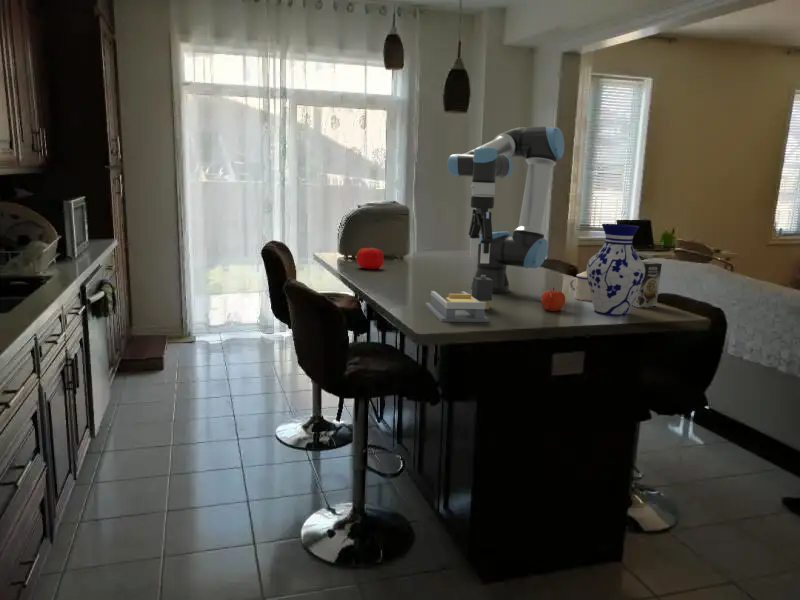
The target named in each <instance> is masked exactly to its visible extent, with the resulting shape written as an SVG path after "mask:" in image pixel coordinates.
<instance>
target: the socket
mask: <svg viewBox="0 0 800 600" xmlns="http://www.w3.org/2000/svg"><path fill="white" fill-rule="evenodd" d="M460 294H469V293H468V292H466V291H461V293H460ZM471 298H474V297H472V295H471ZM474 299H475V298H474ZM475 300H476V301H478V300H477V299H475ZM424 306H425V307H426V308H427V310H429V311H430V312H431V313H432V314H433V315H434V316H435V317H436V319H438V320H439V321H440V322H442V323H443V322H444V323H446V322H447V323H448V322H450V323H451V322H453V323H490V318H489V317H487V316H486V315H485V314H486V313H485V311H486V309H485V306H486V303H485V302H480V301H478V302H447V301H446V298H444V297H442V296H441V295H440V294H439V293H438V292H436V291H435V290H431V291H430V298H429V302H425V303H424Z"/></svg>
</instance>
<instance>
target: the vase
mask: <svg viewBox="0 0 800 600" xmlns="http://www.w3.org/2000/svg"><path fill="white" fill-rule="evenodd" d="M601 226H602V228H603V231H604V237H605V240H604V244H603V245H602V247H601V248H600V249H599V250H598V251H596V253H595V254H594V255H592V256H591V257H590V258H589V260H588V262H587V265H586V269H587V278H588V284H589V289H590V293H591V298H592V301H591V303H592V307H593V310H594V313H597V314H599V315H605V316H612V317H625V315H626V316H628V314H629V312H630V310H631V307H633V306H632V304H633V301H634V299H635V297H636V295H637V293H638V291H639V289H640V286H641V284H642V282H643V279H644V276H645V266H644V263H643V262H644V261H643V260H642V259H641V258H640V257H639V255H638V254H637V252H636V251H635V249H634V246H633V238H634V236H635V234H636V233H637V232H638V230H639V228H640V226H638V225H632V224H623V223H622V224H621V223H620V224H619V223H601Z"/></svg>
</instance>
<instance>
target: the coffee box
mask: <svg viewBox="0 0 800 600" xmlns="http://www.w3.org/2000/svg"><path fill="white" fill-rule="evenodd" d="M642 262H643V263H644V266H645V276H644V279H643V282H642V284H641V286H640V289H639V291H638V293H637V295H636V297H635V299H634V301H633V304H632V305H633V306H632V307H634V306H636V307H635V308H637V307H645V308H650V307H649V306H656V307H657V304H658V296H659V288H660V280H661V273H662V266H663V264H662V263H660V262H652V261H651V262H650V261H642Z"/></svg>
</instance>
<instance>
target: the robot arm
mask: <svg viewBox="0 0 800 600" xmlns="http://www.w3.org/2000/svg"><path fill="white" fill-rule="evenodd" d="M564 153H565V139H564V133H563V132H562V130H561V128H560V127H558V126H557V127H556V126H549V125H548V126H520V127H515V128H513V129H509V130H507V131H504V132H502V133H500V134H497V135H496V136H495V137H494V138H493V140H491V141H489V142H486V143H485V144H482V145H480V146H478V147H475V148H474V149H472V150H469V151H467V152H464V153H454V154H451V155H450V156H449V157H448V159H447V163H446V166H447V172H448V173H449V175H451V176H453V177H455V176H456V177H458V178H459V177H470V178H471V177H472V179H471V185H470V187H469V188H470V189H471V195H472V196H471V197H470V208H472V216H471V221H470V226H469V232H468V235H469V237H470V239H469V240H470V241H469V243H470V244H469V256H468V257H469V258H477V259H476V262H477V263H476V271H475V273H474V276H473V277H481V275H486V278H490V279H492V280H493V289H492V294H493V293H494V294H495V293H496V294H497V293H499V294H503V293H509V292H510V281H509V277H508V274H507V266H509V267H517V268H524V269H538V268H539V267H541V266H542V264H544V261H546V260H545V259H546V257H547V254H548V250H549V246H548V245H549V242H548V241H547V239H546V238H545V234H544V232H543V231H542V226H543V220H544V213H545V207H546V203H547V196H548V190H549V183H550V180H551V179H550V178H551V172H552V168H553V167H555V166H556V165H557V161H558V160H560V159H562V158H563V156H564ZM512 158H525V162H526V164H527V165H528V167H527V173H526V179H525V186H524V192H523V197H522V203H521V204H522V205H521V208H520V216H519V221H518V226H517V227H516V228H515V229H514V230H513V233H512V235H511V234H510V232H509V231H493V225H492V211H489V209H490V210H491V209H494V207H495V206H494V205H495V198H494V197H493V196H495V195H496V179H503V178H507V177H509V176H510V175H511V174H512V173H513V170H514V163H513V160H512ZM480 232H481V233H480ZM472 286H473V279H472V280H471V285H470V289H471V290H472Z"/></svg>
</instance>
